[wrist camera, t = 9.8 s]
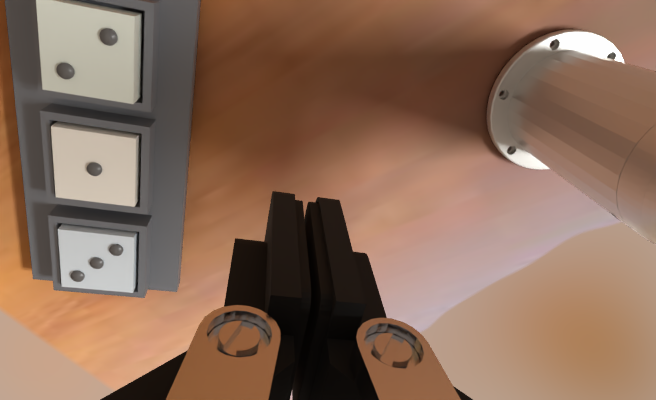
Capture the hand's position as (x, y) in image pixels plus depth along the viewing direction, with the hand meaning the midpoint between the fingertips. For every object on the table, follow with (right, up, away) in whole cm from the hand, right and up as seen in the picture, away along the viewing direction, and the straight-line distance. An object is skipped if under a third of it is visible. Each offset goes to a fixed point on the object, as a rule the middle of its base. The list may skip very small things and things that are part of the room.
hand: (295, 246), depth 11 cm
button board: (-18, +5, +28) cm, 33 cm away
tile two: (-16, +12, +21) cm, 29 cm away
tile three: (-20, -3, +30) cm, 36 cm away
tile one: (-18, +5, +26) cm, 32 cm away
